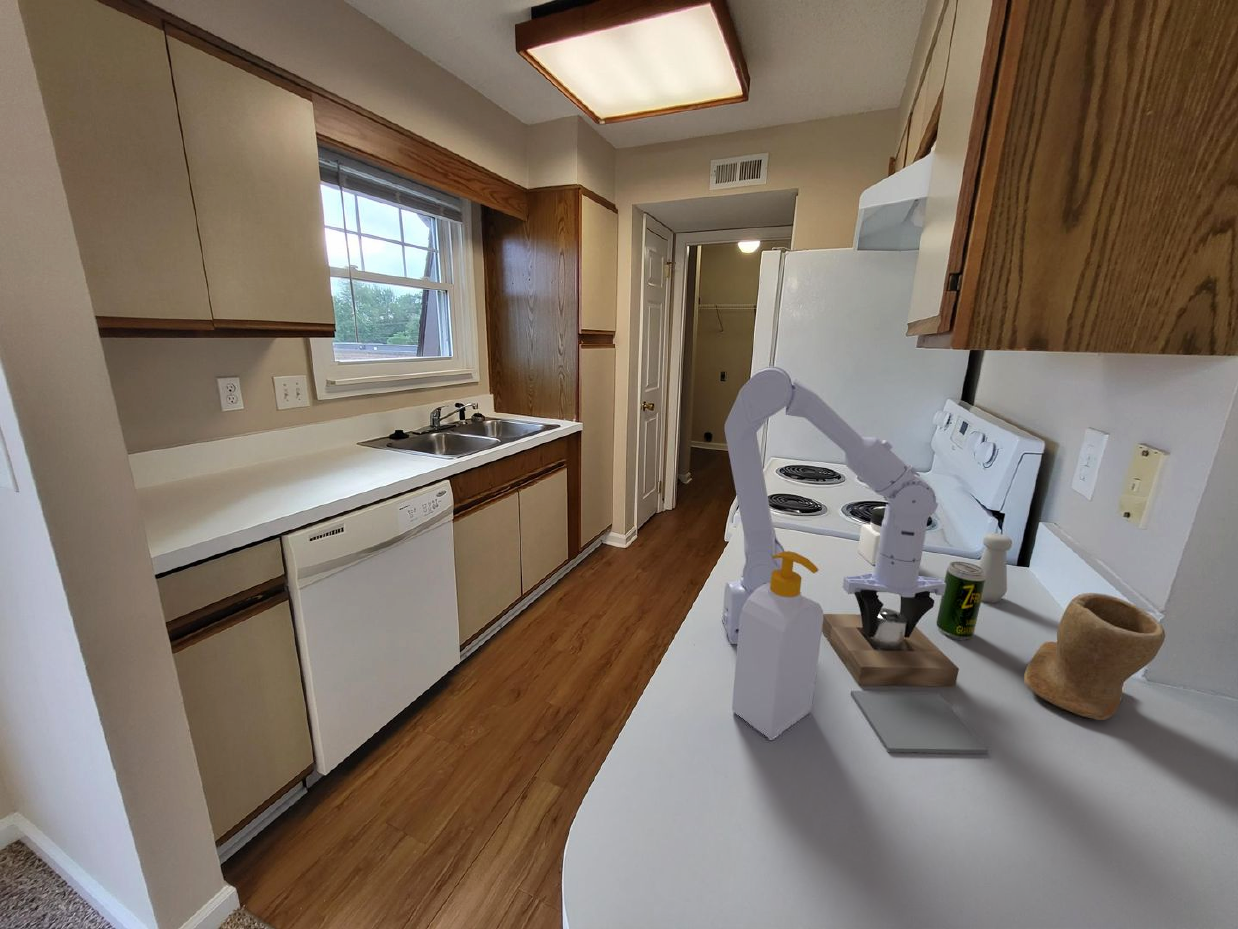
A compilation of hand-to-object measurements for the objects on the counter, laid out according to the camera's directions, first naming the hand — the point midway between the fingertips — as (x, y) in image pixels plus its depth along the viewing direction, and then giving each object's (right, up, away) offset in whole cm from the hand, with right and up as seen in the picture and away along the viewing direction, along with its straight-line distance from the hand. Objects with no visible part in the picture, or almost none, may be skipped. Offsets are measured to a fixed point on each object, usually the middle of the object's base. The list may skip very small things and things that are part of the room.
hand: (885, 633), depth 77 cm
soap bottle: (-21, -7, -11) cm, 25 cm away
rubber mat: (-3, -7, -13) cm, 15 cm away
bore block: (0, -4, +1) cm, 4 cm away
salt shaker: (+30, 0, +19) cm, 36 cm away
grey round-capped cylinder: (0, -4, +1) cm, 4 cm away
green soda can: (+16, -3, +8) cm, 18 cm away
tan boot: (+24, -6, -7) cm, 26 cm away
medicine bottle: (+18, +5, +36) cm, 40 cm away
